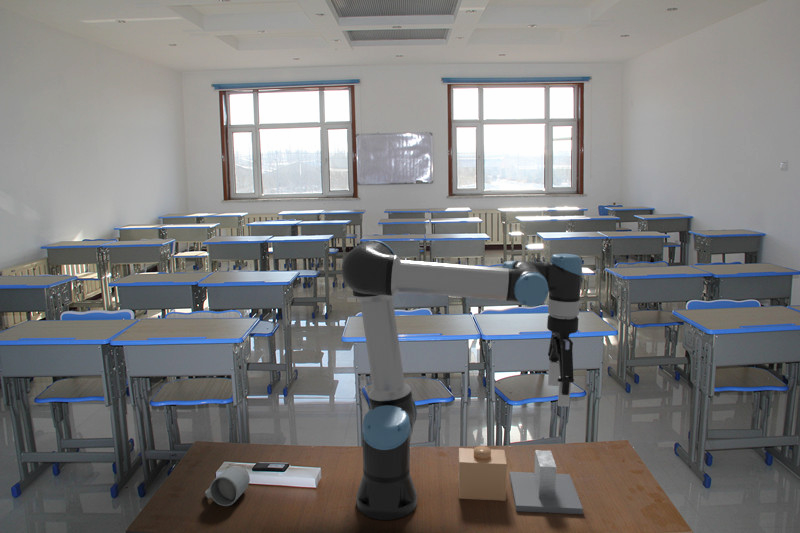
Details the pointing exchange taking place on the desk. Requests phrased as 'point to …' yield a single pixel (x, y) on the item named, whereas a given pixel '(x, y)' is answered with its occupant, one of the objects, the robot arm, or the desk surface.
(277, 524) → the desk surface
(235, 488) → the ceramic mug
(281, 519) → the desk surface
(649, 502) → the desk surface
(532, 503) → the grey square plate
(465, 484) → the tan block with dome
